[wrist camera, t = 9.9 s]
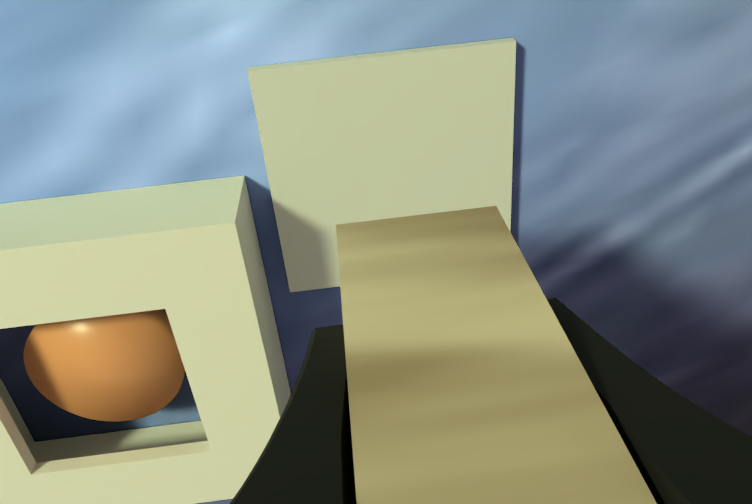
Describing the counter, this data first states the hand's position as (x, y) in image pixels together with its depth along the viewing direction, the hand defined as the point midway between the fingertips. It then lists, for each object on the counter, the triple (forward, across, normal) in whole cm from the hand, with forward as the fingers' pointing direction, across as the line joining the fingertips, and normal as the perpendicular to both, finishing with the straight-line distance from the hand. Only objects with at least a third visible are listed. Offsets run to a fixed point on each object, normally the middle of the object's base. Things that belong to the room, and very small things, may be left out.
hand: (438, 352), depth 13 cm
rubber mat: (+9, 0, 0) cm, 9 cm away
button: (+8, +10, +5) cm, 14 cm away
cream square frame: (+9, +10, +5) cm, 14 cm away
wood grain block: (+2, 0, 0) cm, 2 cm away
